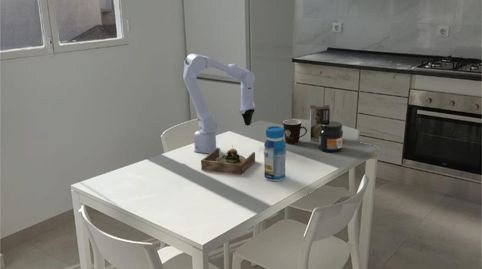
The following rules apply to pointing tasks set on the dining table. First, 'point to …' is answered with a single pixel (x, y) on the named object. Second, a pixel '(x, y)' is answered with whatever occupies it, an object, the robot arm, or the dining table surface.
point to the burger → (232, 157)
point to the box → (225, 164)
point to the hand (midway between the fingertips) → (247, 125)
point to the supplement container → (330, 136)
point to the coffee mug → (292, 131)
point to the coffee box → (318, 119)
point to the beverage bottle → (274, 154)
